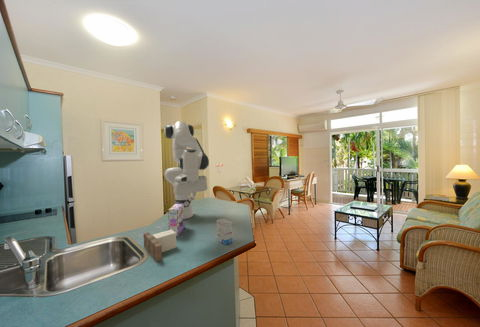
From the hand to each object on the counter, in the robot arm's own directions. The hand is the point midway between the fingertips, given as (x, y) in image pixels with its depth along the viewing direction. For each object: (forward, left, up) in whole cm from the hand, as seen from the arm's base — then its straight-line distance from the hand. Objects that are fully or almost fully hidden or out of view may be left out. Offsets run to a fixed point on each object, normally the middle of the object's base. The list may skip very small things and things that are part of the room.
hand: (191, 200), depth 114 cm
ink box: (+18, +10, -22) cm, 30 cm away
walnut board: (+3, -24, -22) cm, 32 cm away
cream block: (+3, -18, -22) cm, 28 cm away
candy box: (-13, -4, -22) cm, 26 cm away
